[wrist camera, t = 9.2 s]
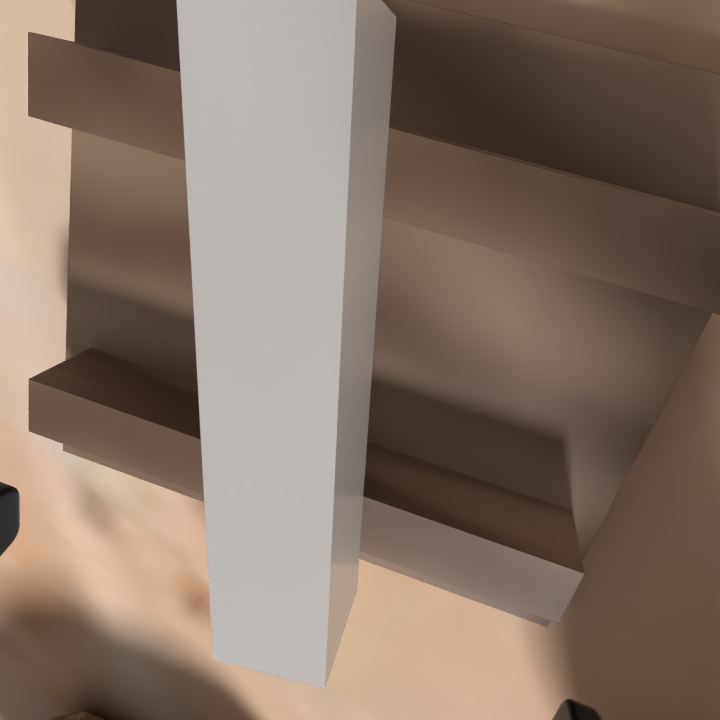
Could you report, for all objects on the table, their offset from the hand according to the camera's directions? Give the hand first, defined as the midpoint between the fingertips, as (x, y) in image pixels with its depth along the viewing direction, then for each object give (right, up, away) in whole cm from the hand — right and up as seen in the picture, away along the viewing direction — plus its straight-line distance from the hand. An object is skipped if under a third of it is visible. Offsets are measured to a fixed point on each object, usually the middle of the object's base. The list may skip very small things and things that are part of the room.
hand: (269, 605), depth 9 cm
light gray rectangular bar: (0, +4, +7) cm, 8 cm away
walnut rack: (+1, +5, +10) cm, 12 cm away
